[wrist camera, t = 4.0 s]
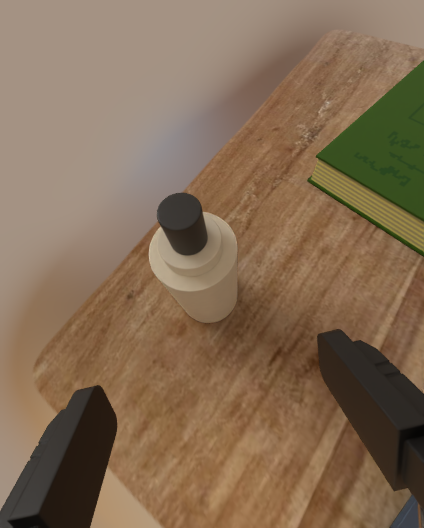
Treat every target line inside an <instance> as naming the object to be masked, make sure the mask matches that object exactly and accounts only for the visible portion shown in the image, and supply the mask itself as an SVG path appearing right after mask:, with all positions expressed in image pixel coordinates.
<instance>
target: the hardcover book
mask: <svg viewBox="0 0 424 528" xmlns="http://www.w3.org/2000/svg"><path fill="white" fill-rule="evenodd" d="M316 158H318V162H317V164H316V167H315V170H314V172H313V175H312V176H311V177H310V178H309V179H308V180H307V181H308V182H310V183H311V184H313V185H314V186H316V187H317V188H319V189H320V190H322V191H323V192H325V193H327V194H328V195H330V196H331V197H333V198H334V199H336V200H337V201H339V202H340V203H342V204H343V205H345V206H347V207H348V208H350V209H351V210H353V211H354V212H356V213H357V214H359V215H360V216H362V217H364V218H365V219H367V220H368V221H370V222H371V223H373V224H374V225H376V226H377V227H379V228H380V229H382V230H384V231H385V232H387V233H388V234H390V235H391V236H393V237H394V238H396V239H397V240H399V241H400V242H402V243H404V244H405V245H407V246H408V247H410V248H411V249H413V250H414V251H416V252H417V253H419V254H420V255H422V256H424V61H422V62H421V63H420V64H419V65H418V66H417V67H416V68H415V69H413V70H412V71H411V72H410V73H409V74H408V75H407V76H406V77H404V78H403V79H402V80H401V81H400V82H399V83H398V84H396V85H395V86H394V87H393V88H392V89H391V90H390V91H389V92H387V93H386V94H385V95H384V96H383V97H382V98H381V99H379V100H378V101H377V102H376V103H375V104H374V105H373V106H372V107H370V108H369V109H368V110H367V111H366V112H365V113H364V114H363V115H361V116H360V117H359V118H358V119H357V120H356V121H355V122H353V123H352V124H351V125H350V126H349V127H348V128H347V129H346V130H344V131H343V132H342V133H341V134H340V135H339V136H338V137H336V138H335V139H334V140H333V141H332V142H331V143H330V144H329V145H327V146H326V147H325V148H324V149H323V150H322V151H321V152H320V153H318V154H317V155H316Z"/></svg>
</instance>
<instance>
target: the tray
mask: <svg viewBox="0 0 424 528" xmlns="http://www.w3.org/2000/svg"><path fill="white" fill-rule="evenodd" d="M390 528H419V520H418V502H417V500H416V499H415V497H414V496H413V495H412V496H411V497H410V499H409V500H408V501H407V503H406V504H405V506H404V507H403V509H402V510H401V512H400V513H399V515H398V516H397V518H396V519H395V520H394V522H393V523H392V525H391V526H390Z"/></svg>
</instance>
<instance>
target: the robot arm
mask: <svg viewBox="0 0 424 528" xmlns="http://www.w3.org/2000/svg"><path fill="white" fill-rule="evenodd" d="M317 342H318V354H319V366H320V371H321V374H322V377H323V379H324V381H325V383H326V385H327V387H328V388H329V390H330V391H331V393H332V395H333V396H334V398H335V399H336V401H337V402H338V404H339V406H340V407H341V409H342V410H343V412H344V413H345V415H346V417H347V418H348V420H349V421H350V423H351V424H352V426H353V428H354V429H355V431H356V432H357V434H358V435H359V437H360V439H361V440H362V442H363V443H364V445H365V446H366V448H367V449H368V451H369V453H370V454H371V456H372V457H373V459H374V460H375V462H376V464H377V465H378V467H379V468H380V470H381V471H382V473H383V475H384V476H385V478H386V479H387V481H388V482H389V484H390V486H391V487H392V489H393V490H394V491H397V490H401V489H406V488H408V489H409V490H410V492H411V493H412V495H413V496H414V497H415V499H416V500H417V502H418V520H419V528H424V394H423V393H422V392H421V391H420V390H419V389H418V388H417V387H416V386H415V385H414V384H413V383H412V382H411V381H410V380H409V379H408V378H407V377H406V376H405V375H404V374H401V373H400V371H399V370H398V369H397V368H396V367H395V366H394V365H393V364H392V363H390V362H389V360H388V359H387V358H386V357H385V356H384V355H383V354H382V353H380V352H379V351H378V350H377V349H376V348H374V347H372V346H370V345H369V344H367V343H365V342H363V341H361V340H358V341H354V342H353V341H352V340H351V339H350V338H349V337H348V336H347V335H346V334H345V333H344V332H343V331H342V330H340V329H337V330H332V331H328V332H324V333H320V334H318V336H317ZM116 432H117V418H116V414H115V412H114V410H113V408H112V406H111V404H110V402H109V400H108V398H107V396H106V394H105V392H104V390H103V388H102V387H101V386H99V385H97V386H93V387H89V388H84V389H80V390H77V391H75V393H74V394H73V396H72V397H71V399H70V401H69V403H68V405H67V407H66V409H63V410H61V411H60V412H59V414H58V415H57V416H56V417H55V418H54V419H53V421H51V423H50V424H49V425H48V426H47V428H46V430H45V432H44V434H43V435H42V437H41V439H40V441H39V445H38V446H36V448H35V450H34V451H33V453H32V455H31V457H30V458H31V459H30V461H28V462H27V464H26V466H25V468H24V470H23V471H22V473H21V475H20V477H19V478H18V480H17V482H16V484H15V486H14V488H13V489H12V491H11V493H10V495H9V497H8V498H7V500H6V502H5V504H4V505H3V507H2V509H1V511H0V528H90V526H91V522H92V518H93V515H94V511H95V508H96V504H97V501H98V497H99V493H100V490H101V486H102V483H103V479H104V476H105V472H106V468H107V465H108V461H109V458H110V454H111V451H112V447H113V443H114V440H115V436H116Z"/></svg>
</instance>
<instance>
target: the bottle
mask: <svg viewBox="0 0 424 528" xmlns="http://www.w3.org/2000/svg"><path fill="white" fill-rule="evenodd" d="M157 219H158V222H159V223H160V225H161V227H160V228H159V229H158V230H157V232H156V233H155V235H154V237H153V238H152V241H151V244H150V248H149V261H150V265H151V268H152V270H153V272H154V274H155V275H156V277H157V278H158V279H159V280H160V282H161V283H162V284H163V285H164V286H165V288H166V289H167V290H168V291H169V292H170V293H171V295H172V296H173V297H174V298H175V299H176V301H177V302H178V303H179V304H180V305H181V307H182V308H183V309H184V310H185V311H186V313H187V314H188V315H189V316H190V317H192V318H193V319H195V320H197V321H199V322H203V323H213V322H217V321H220V320H222V319H224V318H226V317H227V316H228V315H229V314H230V313H231V312H232V310H233V309H234V307H235V305H236V302H237V296H238V247H237V240H236V237H235V234H234V232H233V230H232V229H231V227H230V226H229V225H228V224H227V223H226V222H225V221H224V220H222V219H221V218H219V217H218V216H216V215H213V214H210V213H207V212H203V211H202V207H201V204H200V202H199V200H198V199H197V198H196V197H194V196H193V195H190V194H187V193H176V194H172V195H170V196H168V197H167V198H165V199H164V200H163V201H162V202H161V203H160V205H159V207H158V210H157Z"/></svg>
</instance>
